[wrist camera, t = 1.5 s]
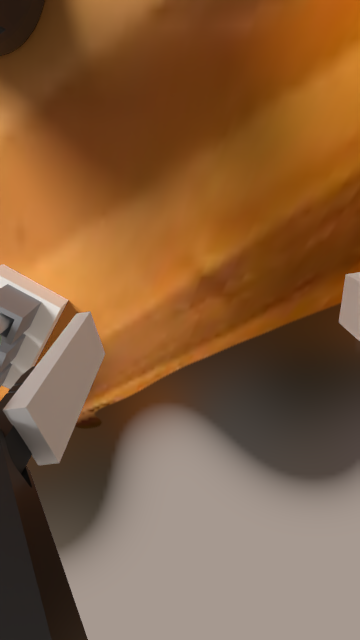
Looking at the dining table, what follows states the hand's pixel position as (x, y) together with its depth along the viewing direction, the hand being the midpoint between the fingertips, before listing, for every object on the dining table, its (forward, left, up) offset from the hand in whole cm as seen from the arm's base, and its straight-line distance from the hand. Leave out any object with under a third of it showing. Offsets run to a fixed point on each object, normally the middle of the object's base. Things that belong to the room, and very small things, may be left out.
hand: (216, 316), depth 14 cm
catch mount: (-15, -28, -25) cm, 40 cm away
